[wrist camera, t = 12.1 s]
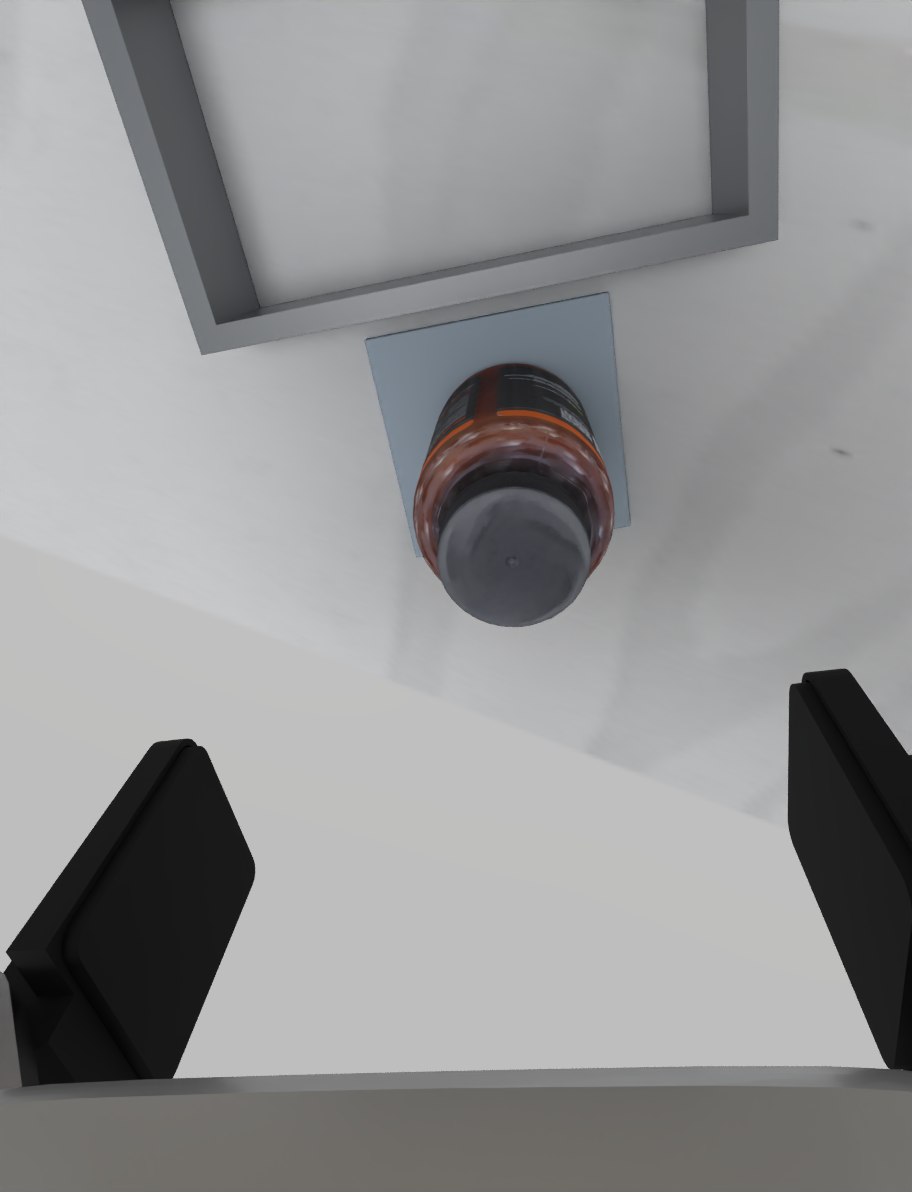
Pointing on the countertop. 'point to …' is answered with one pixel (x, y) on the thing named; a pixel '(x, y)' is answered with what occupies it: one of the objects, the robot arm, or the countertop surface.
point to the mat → (462, 348)
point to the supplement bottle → (513, 497)
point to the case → (234, 319)
